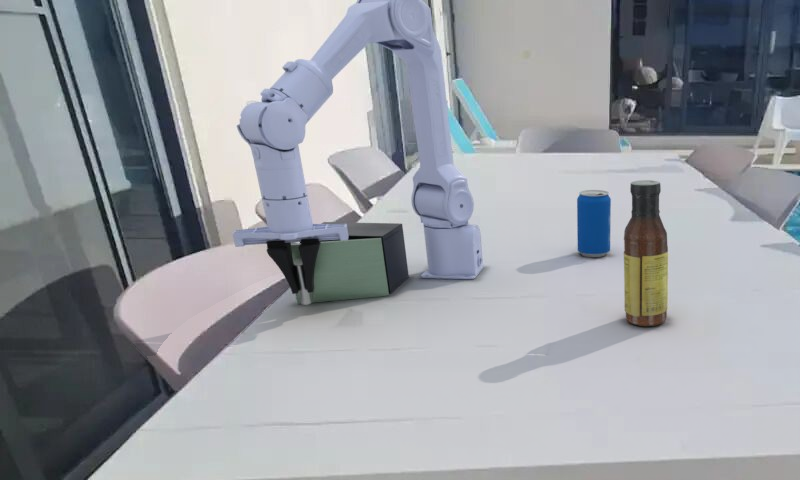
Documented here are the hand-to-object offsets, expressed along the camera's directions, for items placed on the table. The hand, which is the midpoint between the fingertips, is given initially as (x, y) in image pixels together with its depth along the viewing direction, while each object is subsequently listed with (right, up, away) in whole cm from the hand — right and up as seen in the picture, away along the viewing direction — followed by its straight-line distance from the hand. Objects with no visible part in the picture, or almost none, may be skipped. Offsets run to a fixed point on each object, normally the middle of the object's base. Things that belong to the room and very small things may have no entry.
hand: (303, 291), depth 93 cm
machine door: (+4, -2, +6) cm, 7 cm away
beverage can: (+42, +11, +34) cm, 55 cm away
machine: (+3, +3, +15) cm, 16 cm away
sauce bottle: (+50, -4, +1) cm, 50 cm away
